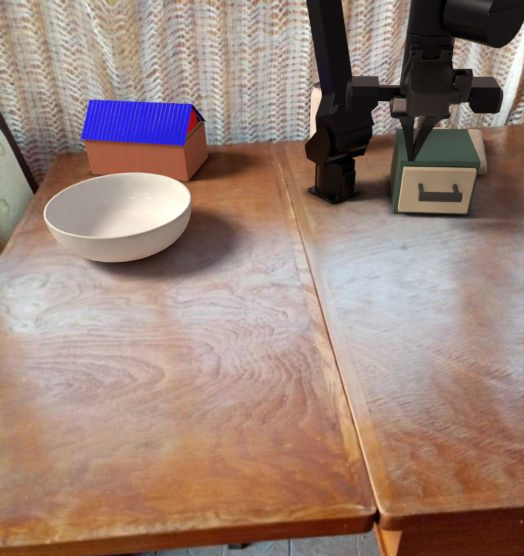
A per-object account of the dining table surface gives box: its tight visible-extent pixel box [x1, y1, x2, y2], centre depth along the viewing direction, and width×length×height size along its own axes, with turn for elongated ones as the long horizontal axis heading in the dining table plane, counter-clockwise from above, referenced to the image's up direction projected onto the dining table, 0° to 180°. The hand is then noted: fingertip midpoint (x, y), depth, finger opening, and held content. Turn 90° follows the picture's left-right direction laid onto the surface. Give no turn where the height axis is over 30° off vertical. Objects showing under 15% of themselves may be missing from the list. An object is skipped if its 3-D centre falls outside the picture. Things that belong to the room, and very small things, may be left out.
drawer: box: [398, 166, 477, 213], centre depth 85 cm, size 17×10×7 cm, turn 172°
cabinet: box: [389, 127, 481, 216], centre depth 87 cm, size 14×12×9 cm
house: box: [80, 98, 209, 182], centre depth 100 cm, size 12×20×12 cm, turn 76°
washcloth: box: [433, 126, 488, 176], centre depth 101 cm, size 12×18×3 cm, turn 168°
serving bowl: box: [43, 173, 193, 263], centre depth 80 cm, size 21×21×7 cm
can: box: [309, 81, 322, 139], centre depth 103 cm, size 6×6×12 cm
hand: (410, 160), depth 74 cm, fingers closed
